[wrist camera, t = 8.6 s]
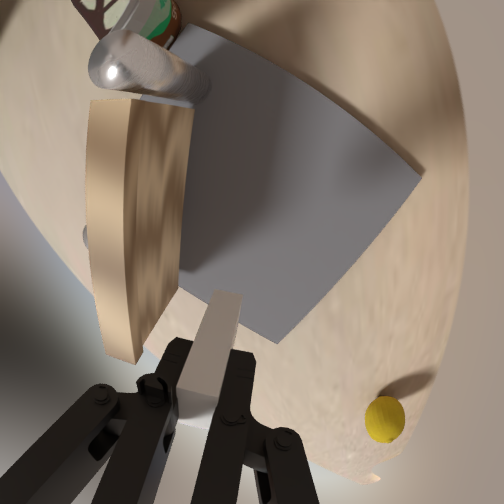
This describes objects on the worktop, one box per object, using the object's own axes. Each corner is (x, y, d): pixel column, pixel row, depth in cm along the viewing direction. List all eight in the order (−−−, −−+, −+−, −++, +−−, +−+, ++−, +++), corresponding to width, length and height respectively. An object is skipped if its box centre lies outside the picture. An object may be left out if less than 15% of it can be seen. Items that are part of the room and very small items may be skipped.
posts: (141, 206, 26) (52, 266, 14) (188, 68, 20) (102, 27, 8) (168, 217, 26) (88, 287, 14) (220, 77, 20) (152, 32, 9)
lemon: (354, 399, 34) (360, 446, 27) (386, 379, 32) (398, 427, 25) (374, 411, 35) (382, 454, 28) (404, 393, 33) (416, 436, 26)
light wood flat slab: (170, 107, 20) (90, 100, 10) (198, 109, 20) (131, 98, 10) (158, 283, 26) (106, 354, 17) (181, 289, 26) (135, 365, 17)
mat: (92, 220, 27) (87, 223, 26) (191, 26, 18) (188, 22, 18) (277, 338, 30) (277, 344, 30) (417, 176, 22) (421, 178, 21)
